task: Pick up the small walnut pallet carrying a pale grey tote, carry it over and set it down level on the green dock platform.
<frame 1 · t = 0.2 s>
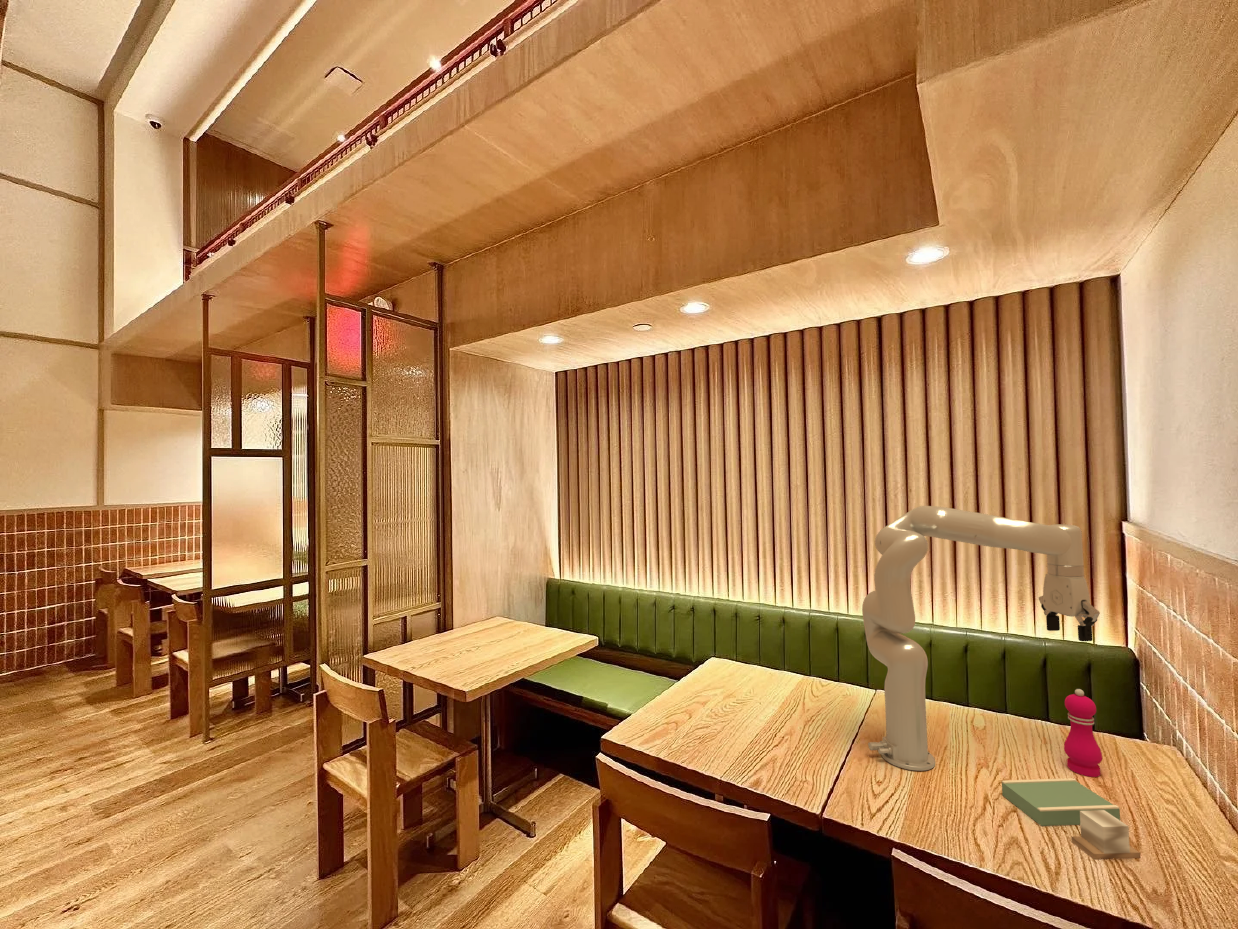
hand: (1068, 635, 140), 31 cm above the table, fingers open, 9 cm apart
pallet: (1105, 850, 103), on the table
pepper mill: (1083, 771, 131), on the table
dock: (1058, 808, 117), on the table
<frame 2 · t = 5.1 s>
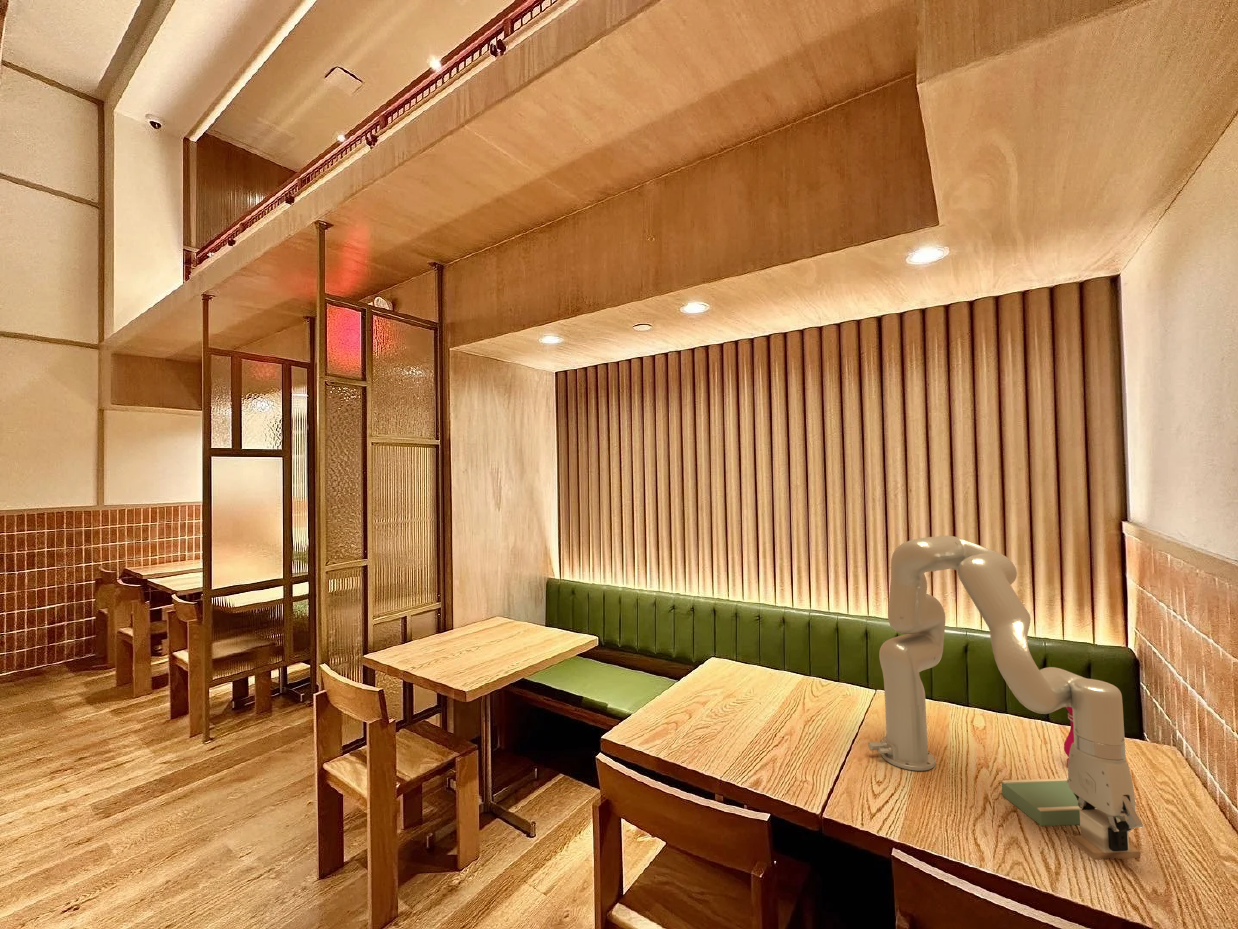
hand: (1104, 839, 104), 2 cm above the table, fingers closed on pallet, 5 cm apart
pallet: (1104, 849, 104), on the table, touching gripper
everything else where it was.
when the fingers open (6 cm above the table, at t = 10.1 s): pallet stays where it is, resting on dock.
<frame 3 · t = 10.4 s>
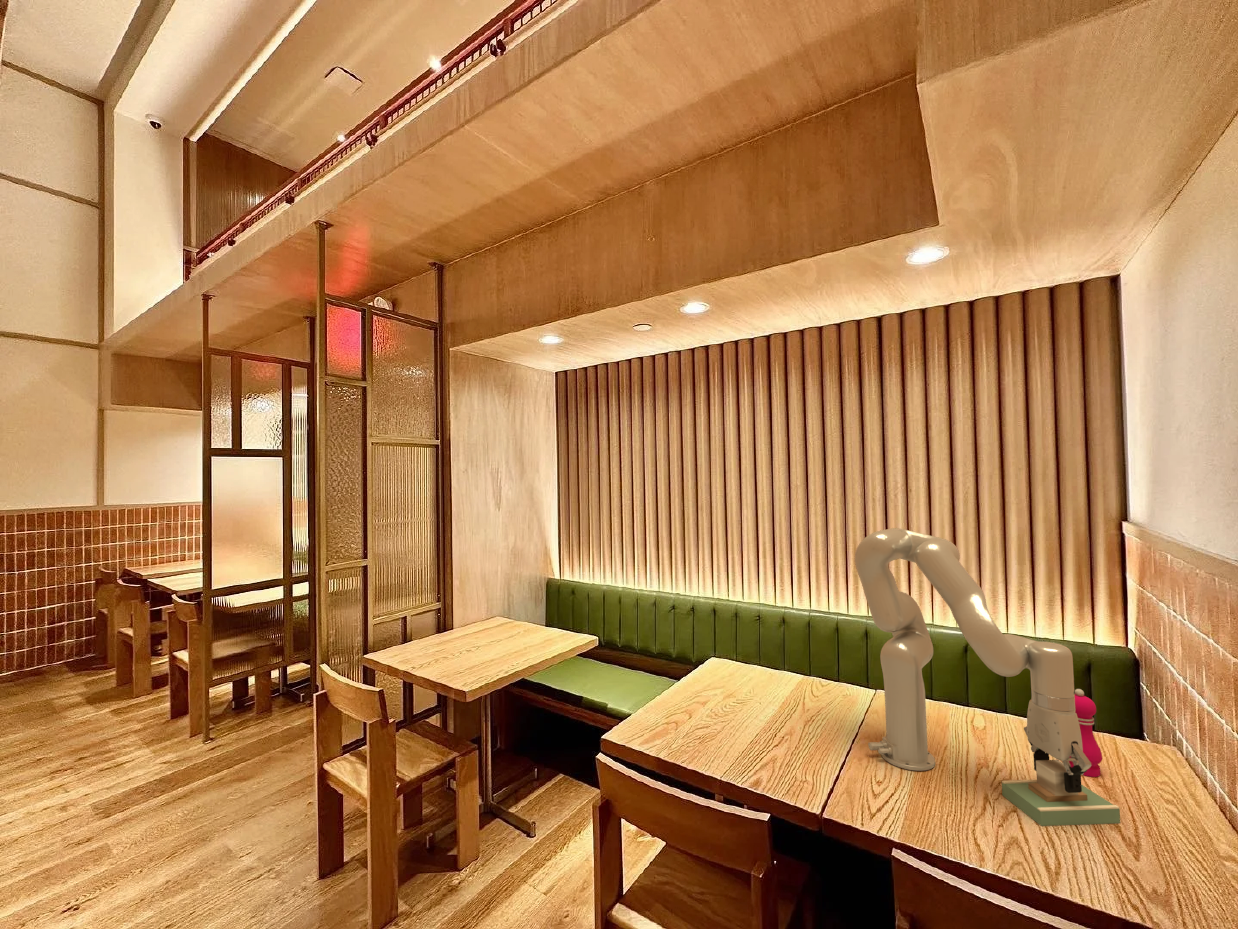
hand: (1057, 780, 117), 6 cm above the table, fingers open, 7 cm apart
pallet: (1057, 794, 117), point 3 cm above the table, touching dock
everything else where it was.
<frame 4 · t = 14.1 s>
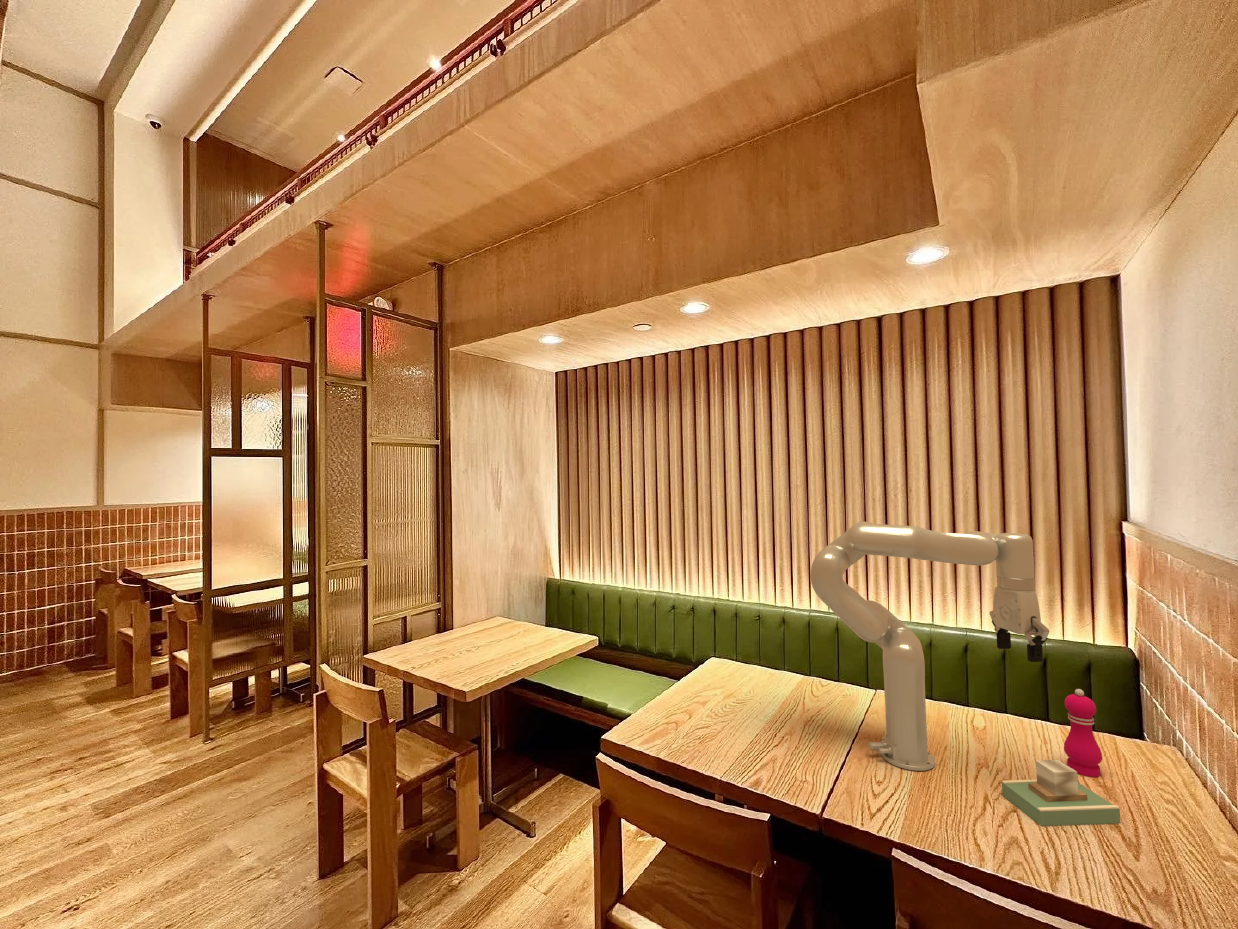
hand: (1019, 654, 128), 30 cm above the table, fingers open, 9 cm apart
nothing on the table moved.
at the end: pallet inside the target area on the dock (0.1 cm from its centre), point 3.0 cm above the dock's base; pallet tilted 0°; the gripper is holding nothing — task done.
